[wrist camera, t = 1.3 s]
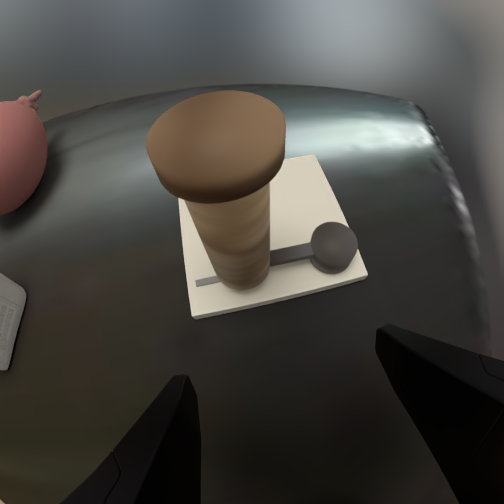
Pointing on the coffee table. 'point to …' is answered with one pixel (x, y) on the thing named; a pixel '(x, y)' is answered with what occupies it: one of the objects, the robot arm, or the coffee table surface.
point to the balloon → (20, 151)
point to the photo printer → (9, 317)
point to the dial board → (273, 245)
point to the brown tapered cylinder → (236, 184)
